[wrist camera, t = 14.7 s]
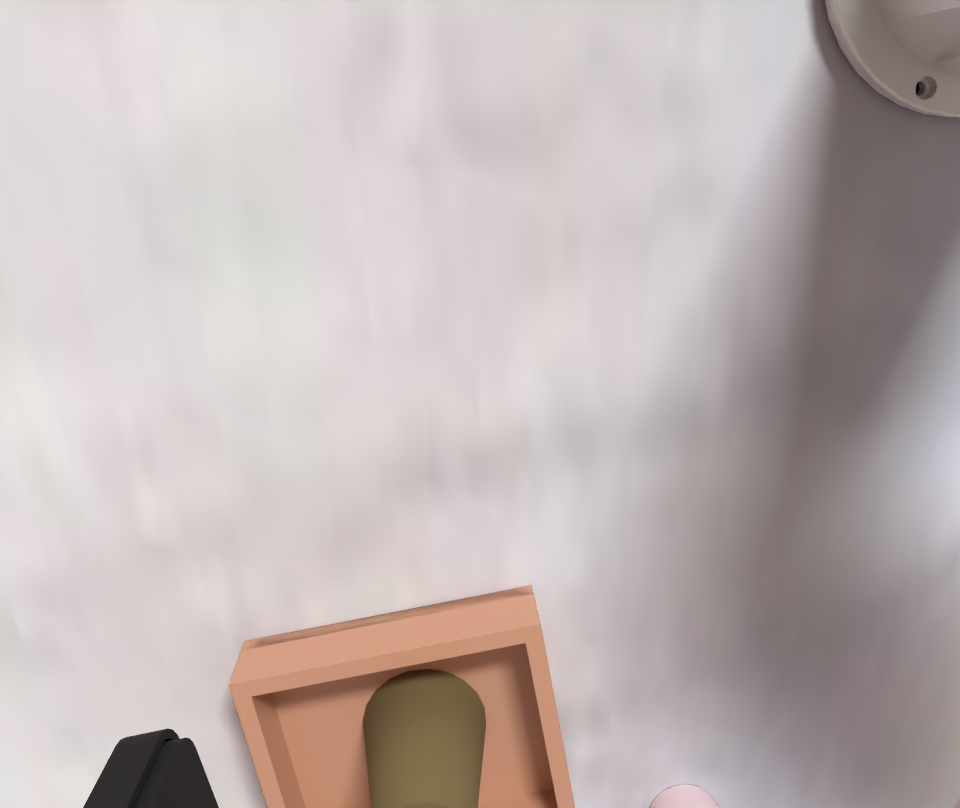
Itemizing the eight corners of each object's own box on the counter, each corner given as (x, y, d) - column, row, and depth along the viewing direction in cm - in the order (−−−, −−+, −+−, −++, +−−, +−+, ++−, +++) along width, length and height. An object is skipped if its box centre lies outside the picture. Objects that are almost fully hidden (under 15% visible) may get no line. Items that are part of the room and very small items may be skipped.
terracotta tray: (531, 585, 43) (540, 623, 39) (569, 788, 46) (581, 839, 43) (244, 641, 43) (228, 684, 39) (304, 840, 46) (295, 895, 43)
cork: (458, 787, 45) (469, 988, 34) (345, 753, 44) (319, 949, 33) (505, 690, 43) (531, 869, 33) (388, 652, 42) (376, 825, 32)
